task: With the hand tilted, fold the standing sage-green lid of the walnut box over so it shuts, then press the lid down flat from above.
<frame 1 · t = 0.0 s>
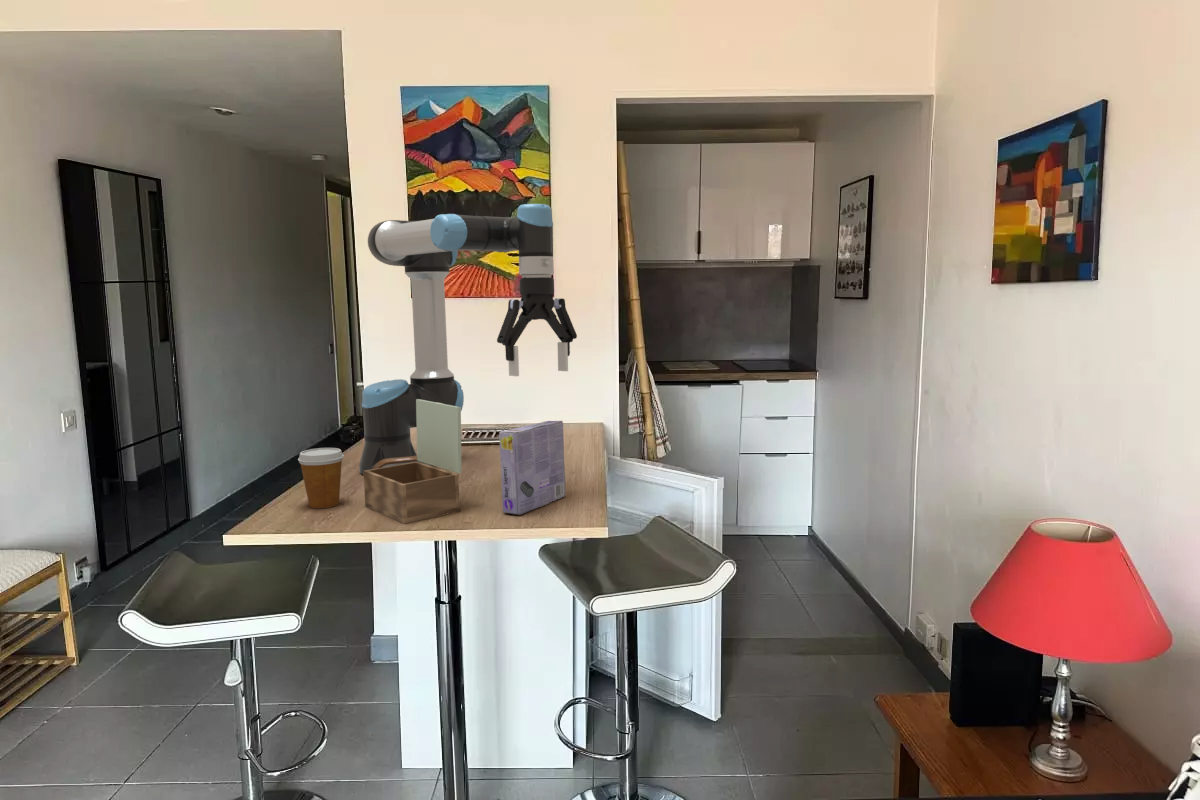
hand: (539, 373, 176), 28 cm above the table, tool pointing down, fingers open, 13 cm apart
walnut box: (411, 508, 171), on the table
cake pan box: (536, 505, 173), on the table
tin: (404, 493, 185), on the table
lid: (438, 434, 173), point 15 cm above the table, hinge at 92.0°
disposable coffee cup: (324, 505, 175), on the table
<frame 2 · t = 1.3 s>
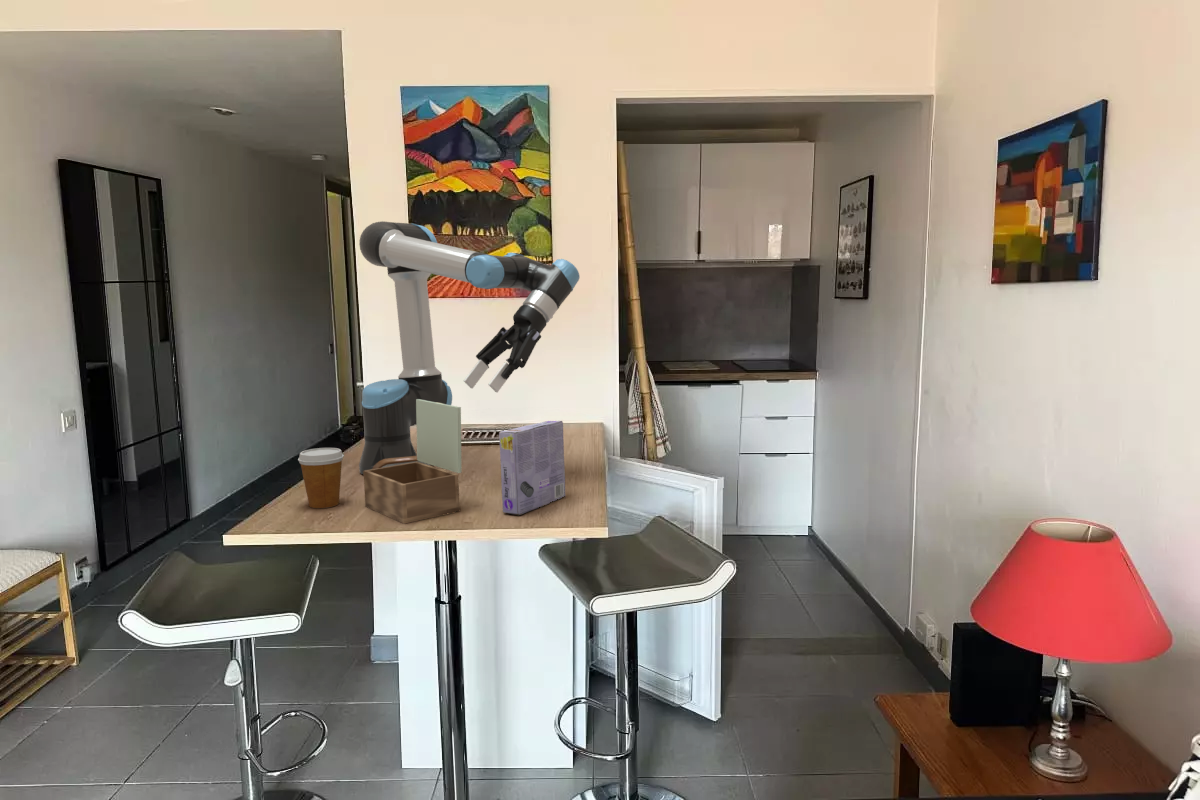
hand: (480, 386, 179), 25 cm above the table, tool tilted 45°, fingers open, 10 cm apart
nothing on the table moved.
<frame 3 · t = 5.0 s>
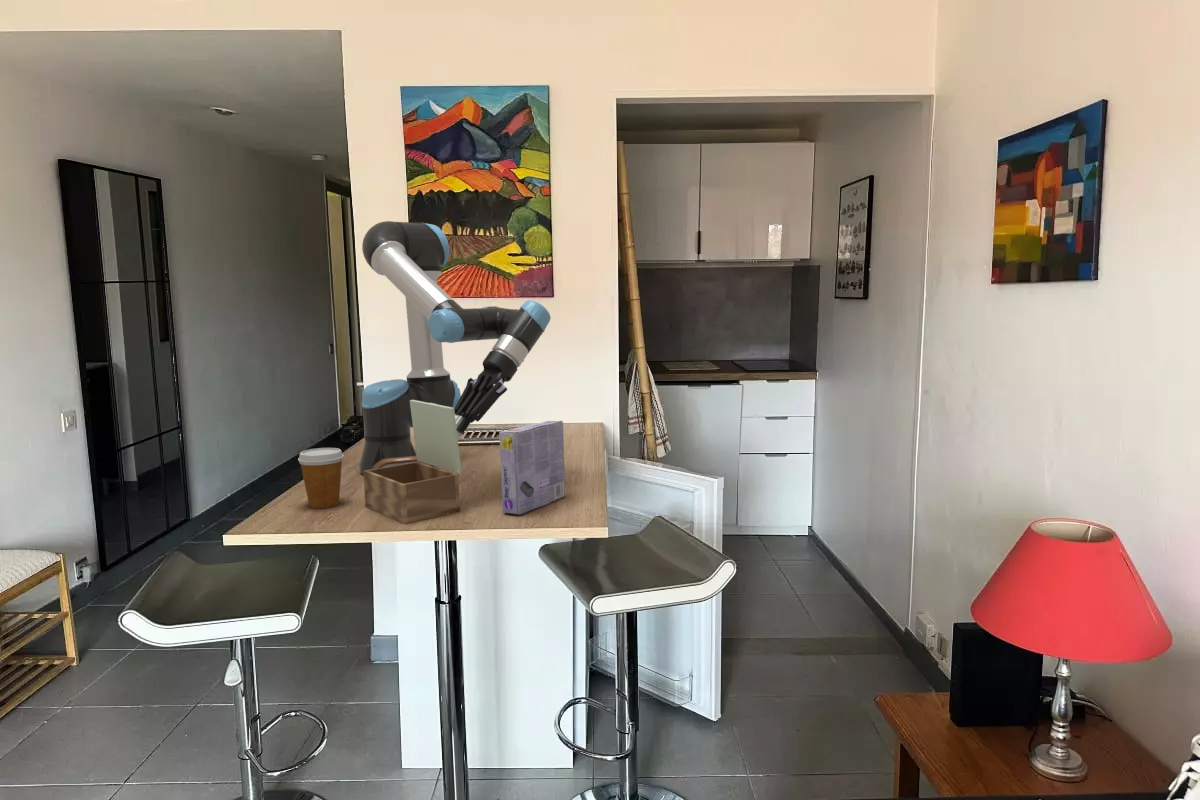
hand: (447, 443, 173), 14 cm above the table, tool tilted 45°, fingers closed
lid: (435, 435, 173), point 15 cm above the table, hinge at 85.2°, touching gripper
everything else where it was.
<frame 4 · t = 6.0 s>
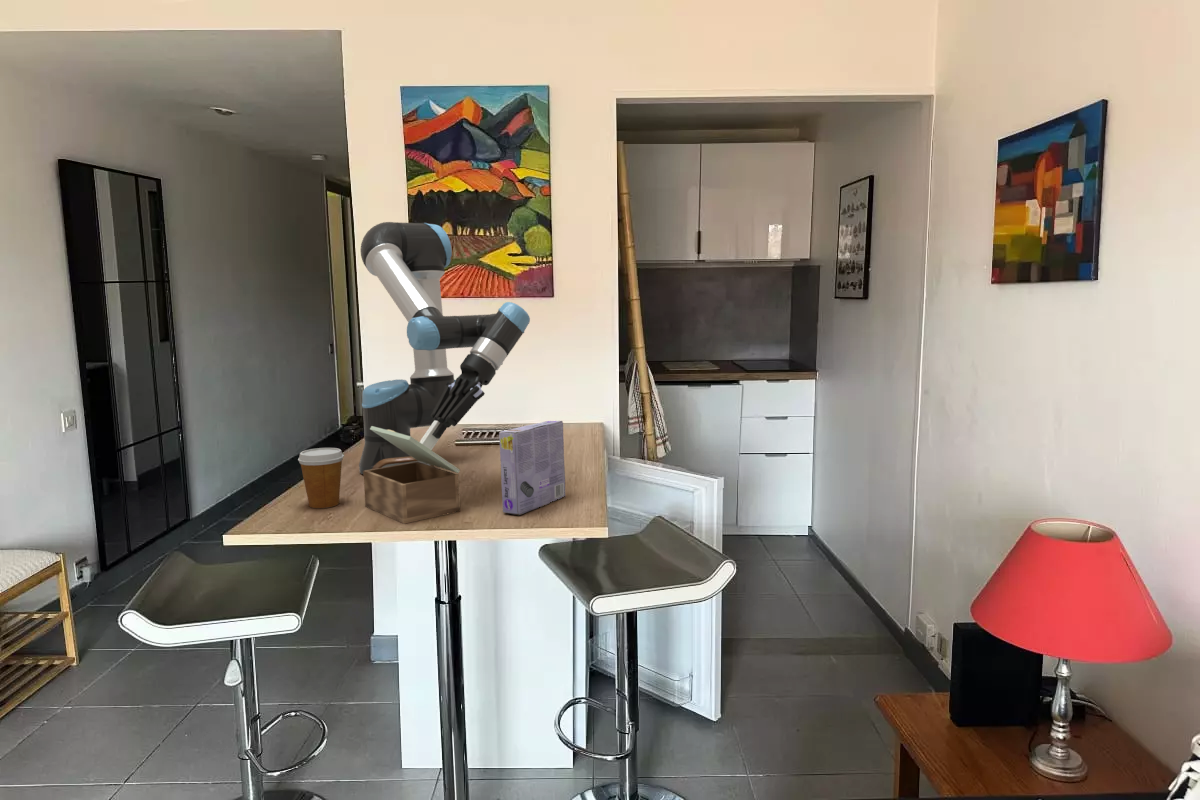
hand: (423, 448, 170), 13 cm above the table, tool tilted 40°, fingers closed
lid: (414, 448, 170), point 13 cm above the table, hinge at 38.3°, touching gripper
everything else where it was.
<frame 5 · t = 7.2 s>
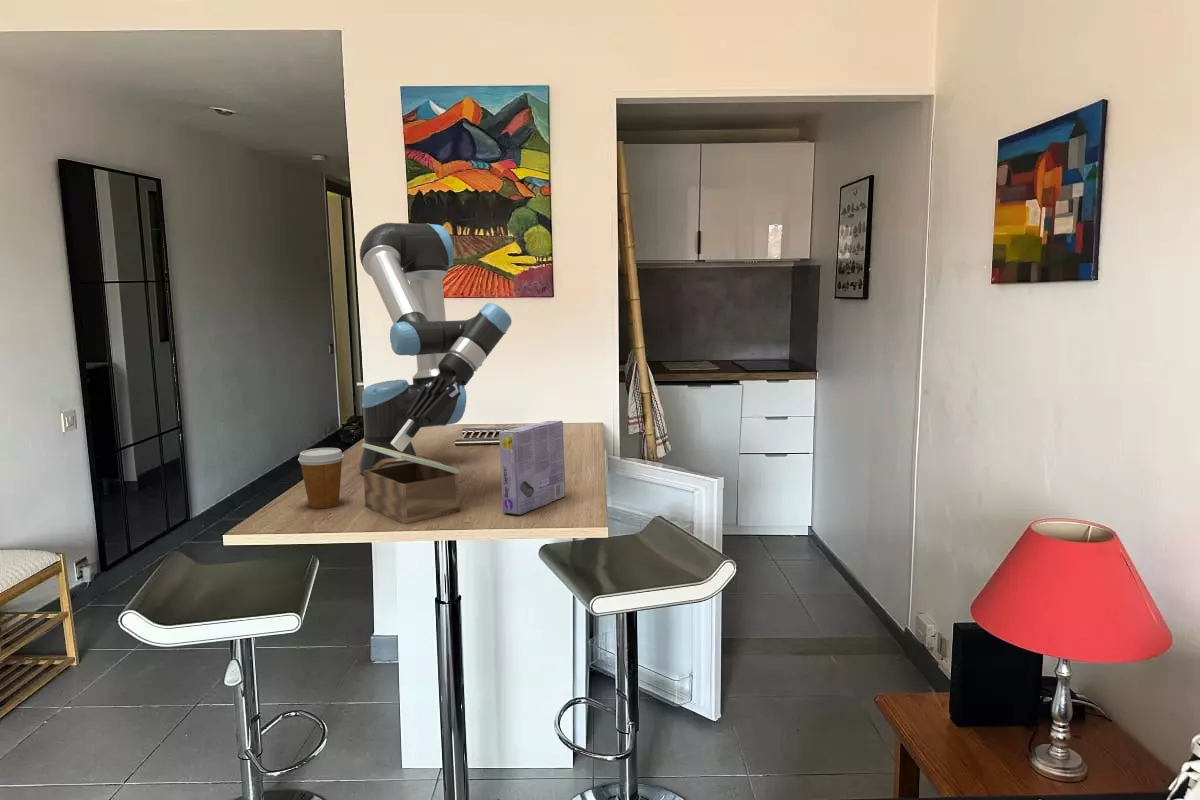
hand: (396, 447, 167), 14 cm above the table, tool tilted 45°, fingers closed
lid: (410, 457, 169), point 11 cm above the table, hinge at 21.4°, touching gripper
everything else where it was.
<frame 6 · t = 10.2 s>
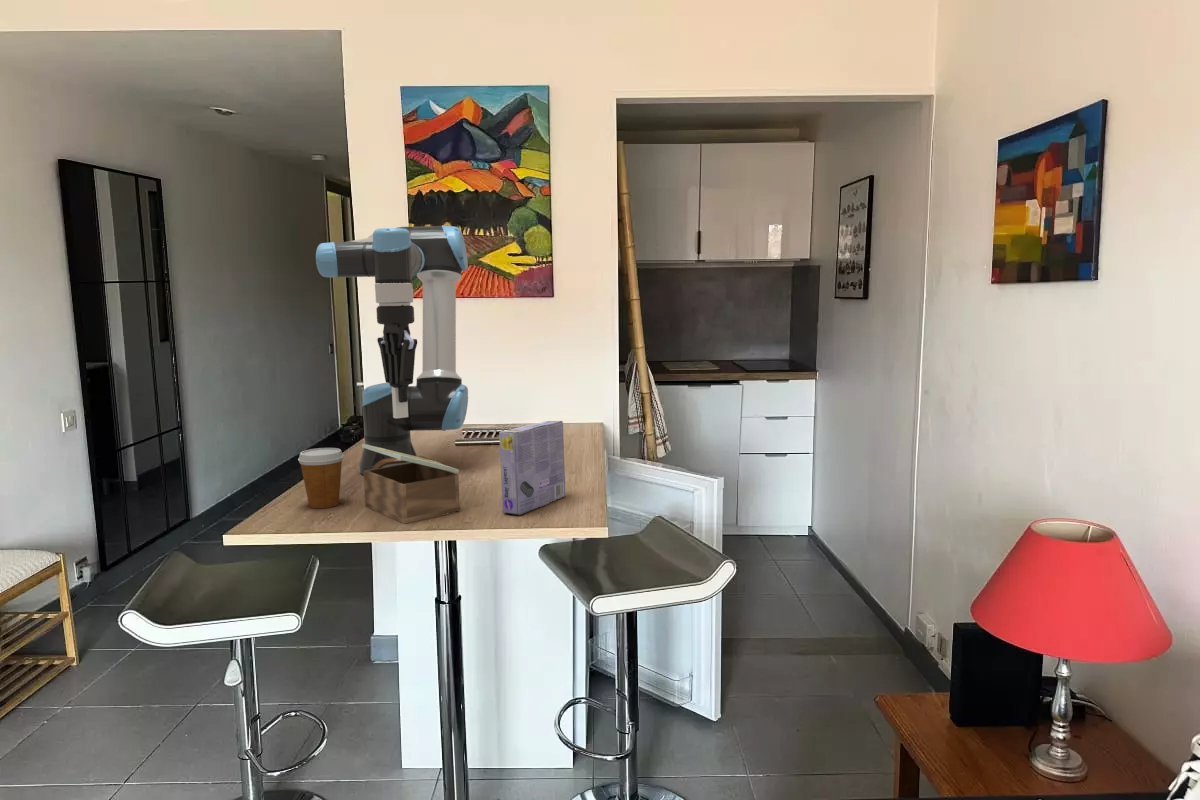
hand: (400, 417, 167), 20 cm above the table, tool pointing down, fingers closed
lid: (409, 457, 169), point 11 cm above the table, hinge at 20.8°
everything else where it was.
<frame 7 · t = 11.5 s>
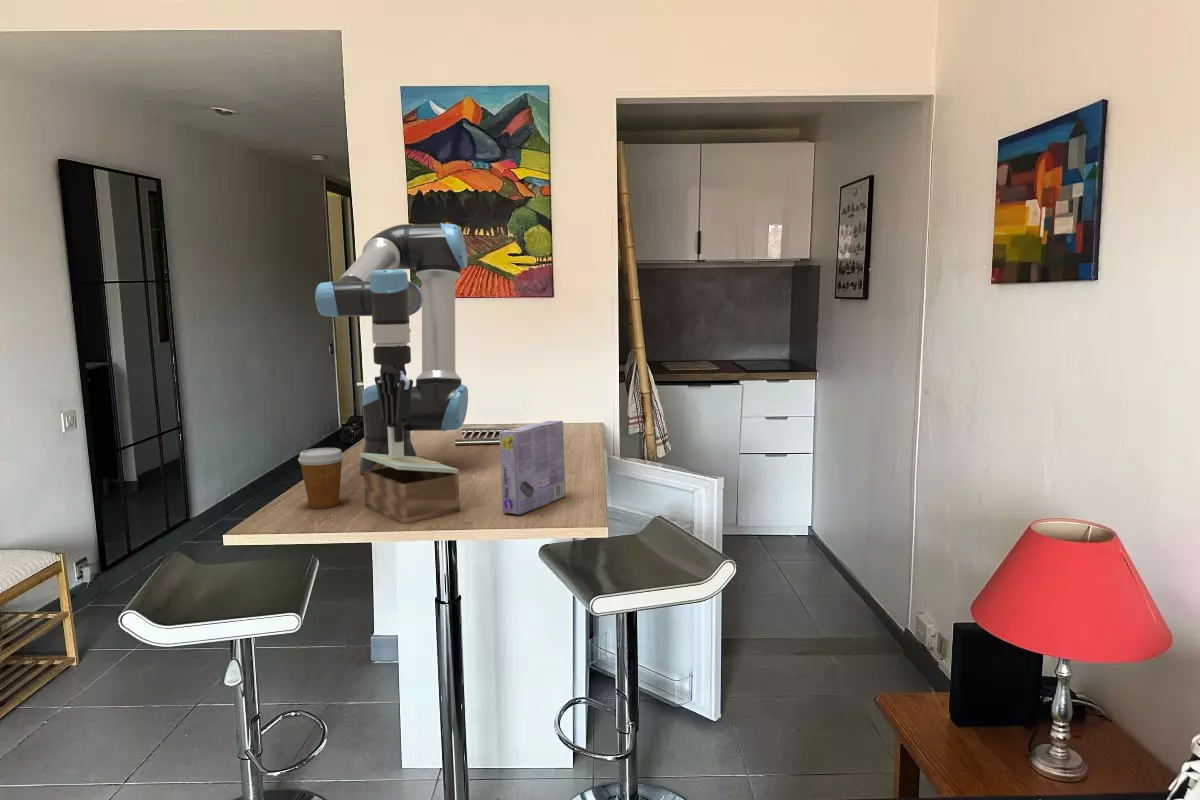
hand: (396, 456, 167), 12 cm above the table, tool pointing down, fingers closed
lid: (408, 462, 169), point 10 cm above the table, hinge at 12.5°
everything else where it was.
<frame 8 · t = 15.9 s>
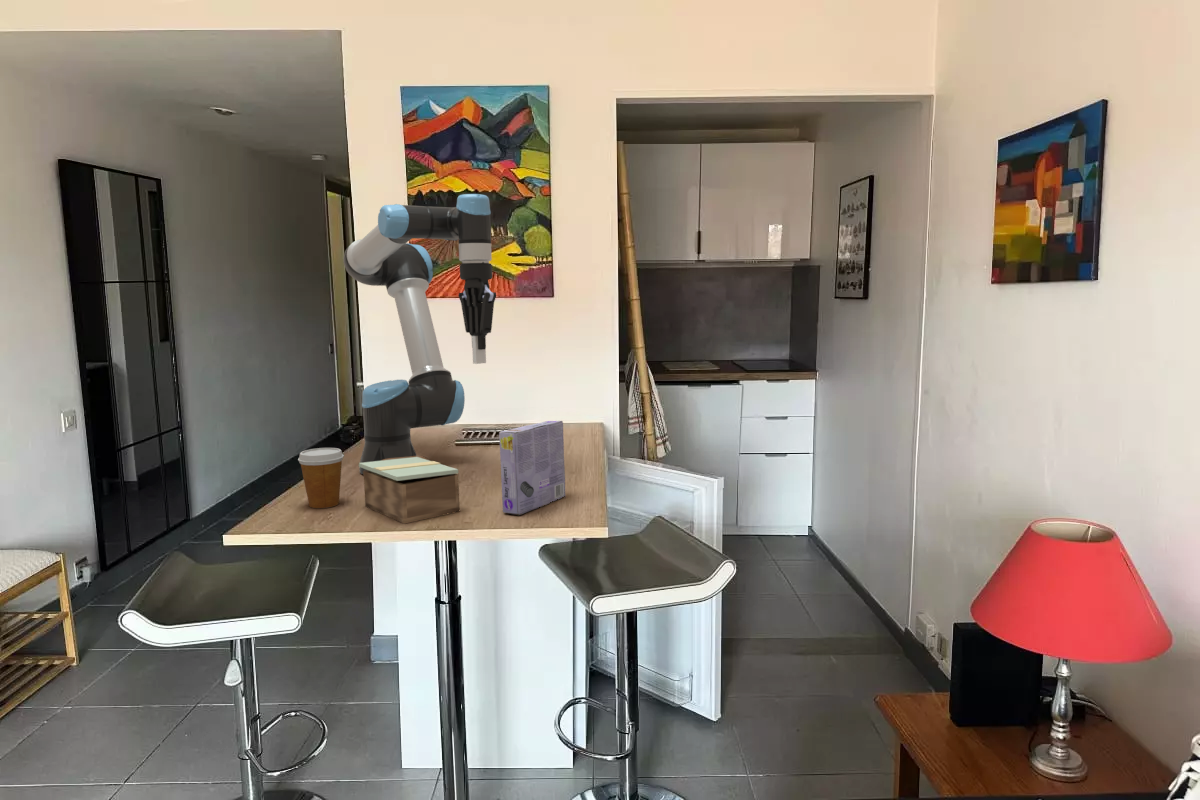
hand: (479, 363, 188), 29 cm above the table, tool pointing down, fingers closed
lid: (407, 467, 169), point 9 cm above the table, hinge at 3.2°
everything else where it was.
at the end: lid at +3° (first picture: +92°) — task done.
